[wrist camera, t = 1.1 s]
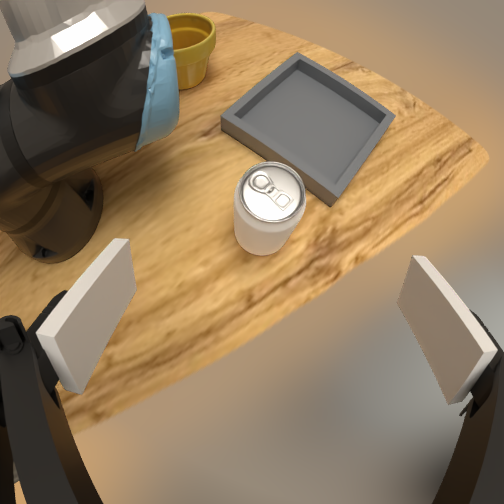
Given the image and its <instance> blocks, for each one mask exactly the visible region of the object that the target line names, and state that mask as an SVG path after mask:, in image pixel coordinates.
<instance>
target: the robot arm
mask: <svg viewBox="0 0 504 504" xmlns="http://www.w3.org/2000/svg"><path fill="white" fill-rule="evenodd" d="M0 9H1V12H2V14H3V16H4V19H5V21H6V23H7V25H8V27H9V30H10V32H11V34H12V36H13V38H14V40H15V47H14V50H13V53H12V55H11V58H10V61H9V65H8V68H7V69H8V73H9V75H10V77H11V79H10V80H9V81H7V82H5V83H4V84H2V85H0V230H2V231H4V232H6V233H7V234H8V235H9V236H10V237H11V239H12V240H13V241H14V242H15V244H16V245H17V246H18V247H19V248H20V249H21V250H22V252H24V253H25V254H26V255H27V256H29V257H31V258H33V259H35V260H38V261H41V262H44V263H58V262H61V261H64V260H67V259H68V258H70V257H72V256H73V255H75V254H76V253H77V252H79V251H80V250H81V249H82V248H83V247H84V246H85V244H86V243H87V242H88V241H89V239H90V238H91V236H92V235H93V233H94V231H95V229H96V227H97V225H98V222H99V219H100V216H101V212H102V207H103V190H102V185H101V182H100V179H99V177H98V176H97V174H96V173H95V171H94V170H93V169H92V168H91V167H92V166H95V165H97V164H100V163H102V162H105V161H107V160H110V159H112V158H115V157H118V156H120V155H123V154H126V153H128V152H131V151H134V152H135V151H137V150H140V149H141V147H142V146H144V145H147V144H149V143H152V142H154V141H157V140H160V139H162V138H165V137H167V136H168V135H169V134H170V133H171V132H172V131H173V130H174V129H175V127H176V125H177V123H178V120H179V89H178V78H177V68H176V61H175V58H174V56H173V54H174V50H173V39H172V34H171V29H170V25H169V21H168V19H167V17H166V16H165V15H164V14H156V13H151V14H149V15H148V14H147V11H146V6H145V1H144V0H0ZM136 290H137V288H136V282H135V276H134V270H133V263H132V257H131V249H130V242H129V239H119V238H114V239H113V240H112V241H111V243H110V244H109V245H108V246H107V247H106V248H105V249H104V250H103V251H102V252H101V254H100V255H99V256H98V257H97V258H96V259H95V260H94V261H93V263H92V264H91V265H90V266H89V267H88V268H87V269H86V271H85V272H84V273H83V274H82V275H81V276H80V278H79V279H78V280H77V281H76V282H75V284H74V285H73V286H72V287H71V288H70V290H69V291H66V290H64V291H62V292H61V293H59V294H58V295H56V296H55V297H54V298H53V299H52V300H51V301H50V302H49V304H48V305H47V307H45V309H44V310H43V311H42V313H41V314H40V315H39V316H38V317H37V319H36V320H35V321H34V322H33V324H32V325H31V326H30V328H29V329H28V330H27V332H26V331H25V328H24V326H23V324H22V322H21V319H20V318H19V317H17V316H13V315H9V316H5V317H2V318H0V504H16V500H15V489H14V474H13V459H14V463H15V467H16V470H17V474H18V478H19V481H20V484H21V488H22V491H23V494H24V497H25V500H26V503H27V504H103V502H102V500H101V498H100V497H99V495H98V493H97V491H96V489H95V487H94V485H93V483H92V480H91V478H90V476H89V474H88V472H87V470H86V467H85V466H84V463H83V461H82V458H81V456H80V453H79V451H78V449H77V446H76V444H75V441H74V438H73V436H72V433H71V430H70V428H69V425H68V422H67V419H66V416H65V413H64V410H63V407H62V404H61V400H60V397H59V394H58V391H57V390H56V388H55V386H56V384H57V382H58V380H60V382H61V384H62V386H63V387H64V389H65V390H67V391H71V392H74V393H78V394H81V395H82V394H83V392H84V389H85V387H86V385H87V383H88V381H89V379H90V377H91V375H92V373H93V371H94V369H95V367H96V365H97V363H98V361H99V359H100V357H101V355H102V353H103V351H104V349H105V347H106V345H107V343H108V341H109V339H110V338H111V336H112V334H113V332H114V330H115V328H116V326H117V324H118V323H119V321H120V319H121V317H122V315H123V313H124V312H125V310H126V308H127V306H128V304H129V303H130V301H131V299H132V297H133V296H134V294H135V292H136ZM397 304H398V306H399V308H400V309H401V311H402V313H403V315H404V317H405V318H406V320H407V322H408V324H409V326H410V328H411V329H412V331H413V333H414V335H415V337H416V339H417V341H418V343H419V345H420V347H421V348H422V351H423V353H424V355H425V356H426V359H427V361H428V363H429V365H430V367H431V369H432V371H433V373H434V375H435V377H436V379H437V381H438V384H439V386H440V388H441V390H442V392H443V394H444V396H445V399H446V401H447V403H448V405H449V404H453V403H458V402H462V401H463V400H464V398H465V397H466V396H467V395H468V393H469V392H470V391H471V393H472V395H473V398H472V399H471V400H470V402H469V403H468V404H467V405H466V407H465V408H464V409H463V410H462V412H461V413H460V415H459V416H462V415H463V414H464V413H465V412H466V411H467V412H466V416H465V419H464V423H463V426H462V429H461V432H460V436H459V439H458V442H457V444H456V448H455V450H454V453H453V456H452V459H451V461H450V464H449V466H448V469H447V471H446V474H445V476H444V478H443V481H442V483H441V485H440V488H439V490H438V492H437V494H436V497H435V499H434V501H433V503H432V504H504V352H503V350H502V349H501V348H500V346H499V345H498V343H497V342H496V340H495V339H494V337H493V336H492V335H491V333H490V332H488V329H487V328H486V326H484V324H483V322H482V321H481V319H480V318H479V317H478V316H477V315H476V314H475V313H474V312H472V311H471V310H470V309H468V308H467V306H466V305H465V304H464V303H463V301H462V300H461V299H460V298H459V296H458V295H457V294H456V292H455V291H454V290H453V289H452V288H451V286H450V285H449V284H448V283H447V281H446V280H445V279H444V278H443V277H442V276H441V274H440V273H439V272H438V271H437V270H436V268H435V267H434V266H433V265H432V264H431V263H430V262H429V260H428V259H427V258H426V257H425V256H412V258H411V261H410V265H409V268H408V271H407V274H406V278H405V280H404V283H403V287H402V289H401V293H400V295H399V298H398V301H397Z"/></svg>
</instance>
